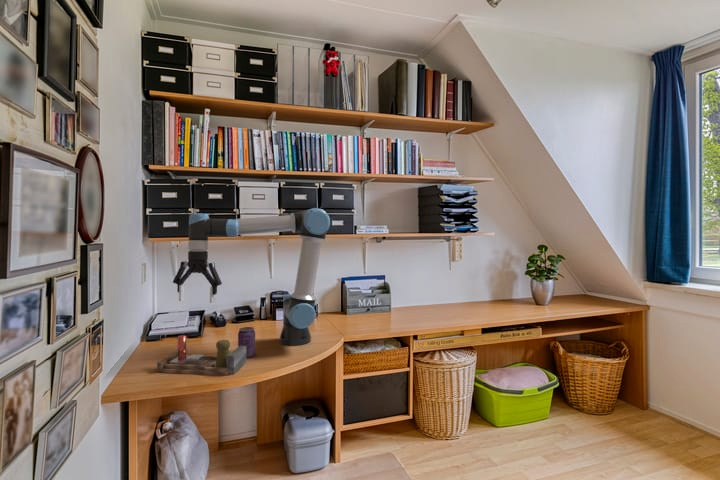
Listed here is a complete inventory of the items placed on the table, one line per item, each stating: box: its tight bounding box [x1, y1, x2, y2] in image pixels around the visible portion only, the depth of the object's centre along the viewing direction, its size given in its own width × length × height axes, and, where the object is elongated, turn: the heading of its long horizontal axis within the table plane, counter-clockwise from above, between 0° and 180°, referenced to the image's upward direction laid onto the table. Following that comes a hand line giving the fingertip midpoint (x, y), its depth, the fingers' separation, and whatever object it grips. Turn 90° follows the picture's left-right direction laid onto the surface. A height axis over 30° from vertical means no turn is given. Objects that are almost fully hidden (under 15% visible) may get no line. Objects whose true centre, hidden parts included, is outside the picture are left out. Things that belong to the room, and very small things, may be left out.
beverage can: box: [237, 326, 256, 359], centre depth 164 cm, size 7×7×12 cm
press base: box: [156, 346, 247, 376], centre depth 151 cm, size 30×14×7 cm, turn 85°
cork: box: [215, 339, 231, 368], centre depth 150 cm, size 6×6×11 cm
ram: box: [169, 334, 205, 365], centre depth 152 cm, size 11×8×11 cm
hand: (196, 301), depth 159 cm, fingers open, 13 cm apart
